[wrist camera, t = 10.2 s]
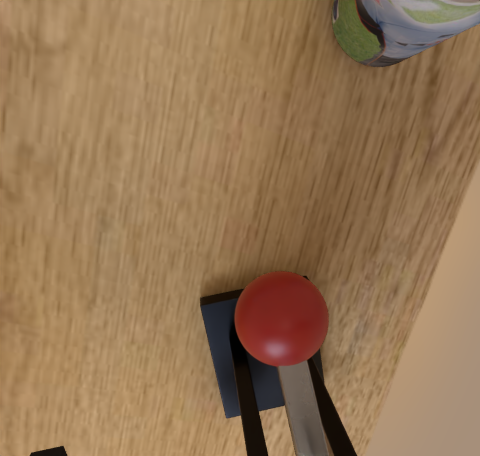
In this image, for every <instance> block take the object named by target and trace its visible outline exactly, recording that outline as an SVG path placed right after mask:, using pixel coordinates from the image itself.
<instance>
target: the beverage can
mask: <svg viewBox="0 0 480 456" xmlns="http://www.w3.org/2000/svg"><path fill="white" fill-rule="evenodd" d="M479 23H480V0H334V3H333V7H332V25H333V30H334V34H335V37H336V39H337V41H338V43H339V45H340V46H341V48H342V49H343V50H344V52H346V53H347V54H348V55H349V56H350V57H351V58H352V59H354V60H356V61H357V62H359V63H362V64H364V65H368V66H373V67H384V66H390V65H393V64H396V63H399V62H401V61H403V60H405V59H407V58H409V57H411V56H413V55H416V54H418V53H420V52H422V51H424V50H426V49H428V48H430V47H432V46H434V45H436V44H438V43H440V42H442V41H444V40H447V39H449V38H451V37H453V36H455V35H457V34H459V33H461V32H463V31H465V30H467V29H469V28H471V27H473V26H475V25H478V24H479Z"/></svg>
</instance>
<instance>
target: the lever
mask: <svg viewBox="0 0 480 456" xmlns="http://www.w3.org/2000/svg"><path fill="white" fill-rule="evenodd" d="M328 324H329V316H328V309H327V306H326V302H325V300H324V298H323V296H322V295H321V293H320V291H319V290H318V289H317V288H316V286H315V285H313V284H312V283H311V282H310V281H309V280H307V279H306V278H304V277H302V276H301V275H298V274H296V273H292V272H286V271H275V272H270V273H266V274H264V275H261V276H259V277H258V278H256V279H254V280H253V281H252V282H251V283H249V284H248V285H247V287H246V288H245V289H244V290H243V292H242V293H241V295H240V297H239V299H238V302H237V305H236V309H235V328H236V332H237V335H238V337H239V340H240V341H241V343H242V345H243V346H244V348H245V349H246V350H247V351H248V352H249V353H250V354H251V355H252V356H253V357H254V358H256V359H257V360H259V361H261V362H263V363H265V364H268V365H272V366H276V367H277V371H278V376H279V381H280V385H281V390H282V394H283V399H284V404H285V408H286V413H287V418H288V422H289V427H290V431H291V436H292V441H293V445H294V450H295V454H296V456H329V453H328V448H327V444H326V440H325V435H324V431H323V427H322V422H321V418H320V414H319V410H318V405H317V401H316V397H315V392H314V388H313V384H312V379H311V375H310V371H309V366H308V362H307V360H308V359H309V358H310V357H312V356H313V355H314V354H315V353H316V352H317V351H318V350H319V348H320V347H321V345H322V344H323V342H324V340H325V337H326V334H327V330H328Z"/></svg>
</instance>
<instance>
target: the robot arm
mask: <svg viewBox="0 0 480 456" xmlns="http://www.w3.org/2000/svg"><path fill="white" fill-rule="evenodd" d="M30 456H67V454H66V451H65V448H64V446H60V447H56V448H51V449H46V450H42V451H37V452H33V453H31V454H30Z"/></svg>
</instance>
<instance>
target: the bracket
mask: <svg viewBox="0 0 480 456" xmlns="http://www.w3.org/2000/svg"><path fill="white" fill-rule="evenodd" d="M302 277H304V278H306V279H307V280H309V279H308V278H307V276H302ZM243 290H244V289H240V290H235V291H230V292H226V293H221V294H216V295H211V296H207V297H202V298H200V307H201V311H202V316H203V320H204V324H205V329H206V333H207V337H208V342H209V346H210V350H211V355H212V359H213V363H214V368H215V372H216V376H217V381H218V385H219V389H220V394H221V398H222V402H223V407H224V411H225V415H226V418H231V417H236V416H240V415H241V419H242V425H243V432H244V438H245V445H246V451H247V456H268V452H267V447H266V443H265V438H264V433H263V429H262V424H261V419H260V415H259V411H262V410H267V409H271V408H276V407H280V406H284V405H285V404H284V399H283V394H282V390H281V385H280V381H279V376H278V371H277V367H276V366H272V365H268V364H265V363H263V362H261V361H259V360H257V359H256V358H254V357H253V356H252V355H251V354H250V353H249V352H248V351H247V350H246V349H245V348H244V346H243V345H242V343H241V341H240V340H239V337H238V335H237V332H236V328H235V309H236V305H237V302H238V299H239V297H240V295H241V293H242V292H243ZM307 362H308V366H309V371H310V375H311V379H312V384H313V388H314V392H315V397H316V401H317V405H318V410H319V414H320V418H321V422H322V427H323V431H324V435H325V440H326V444H327V448H328V453H329V456H357V454H356V452H355V450H354V448H353V446H352V443H351V441H350V439H349V437H348V435H347V432H346V430H345V428H344V426H343V424H342V422H341V419H340V417H339V415H338V413H337V411H336V409H335V406H334V404H333V402H332V400H331V398H330V395H329V393H328V391H327V389H326V387H325V384H324V377H323V369H322V362H321V354H320V348H319V350H318V351H317V352H316V353H315V354H314V355H313V356H312V357H310V358H309V359H308V360H307Z"/></svg>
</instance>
